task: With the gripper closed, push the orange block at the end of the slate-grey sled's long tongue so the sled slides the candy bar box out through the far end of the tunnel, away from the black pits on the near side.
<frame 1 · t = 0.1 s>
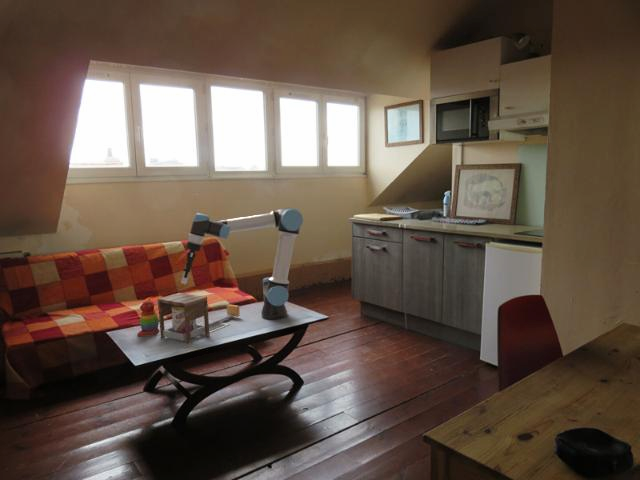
hand: (184, 281, 239), 28 cm above the table, tool tilted 20°, fingers open, 13 cm apart
stacking bear: (149, 333, 243), on the table
tunnel: (185, 336, 235), on the table
pit mat: (208, 327, 249), on the table
sled: (205, 320, 247), point 4 cm above the table, slide at 0.0 cm
candy bar box: (185, 336, 235), resting in sled
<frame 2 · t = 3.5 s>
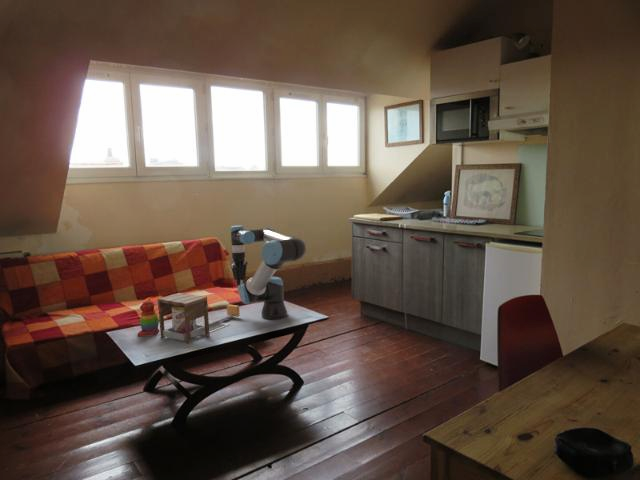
hand: (240, 290, 271), 14 cm above the table, tool pointing down, fingers closed
nothing on the table moved.
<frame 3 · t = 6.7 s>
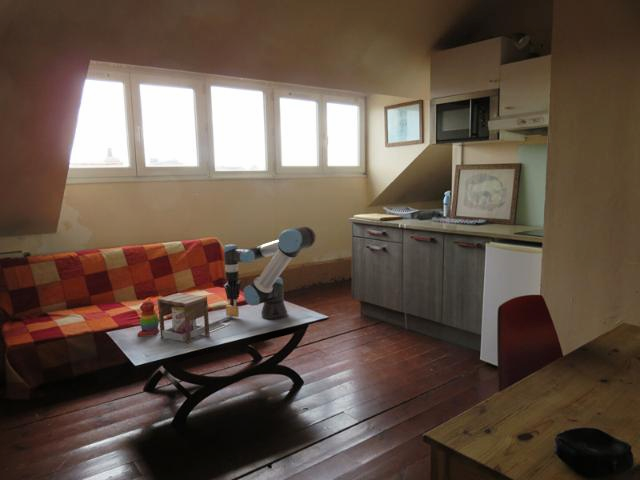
hand: (233, 310, 267), 4 cm above the table, tool pointing down, fingers closed
sled: (205, 320, 247), point 4 cm above the table, slide at 0.7 cm, touching gripper
everything else where it was.
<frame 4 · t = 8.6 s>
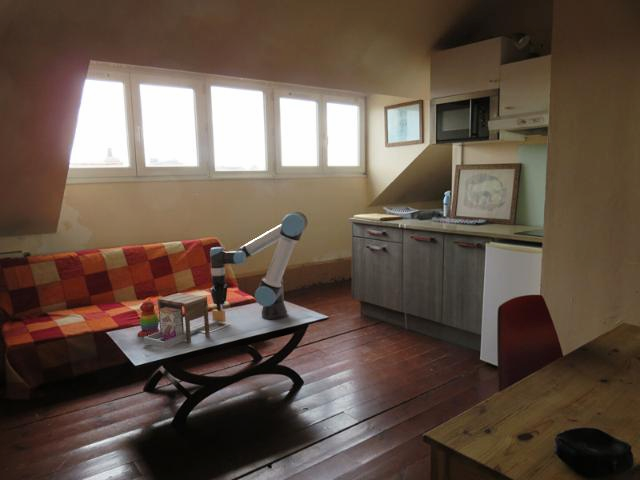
hand: (220, 315, 257), 4 cm above the table, tool pointing down, fingers closed
sled: (189, 326, 238), point 4 cm above the table, slide at 11.7 cm, touching candy bar box, gripper
candy bar box: (172, 340, 230), resting in sled
everything else where it was.
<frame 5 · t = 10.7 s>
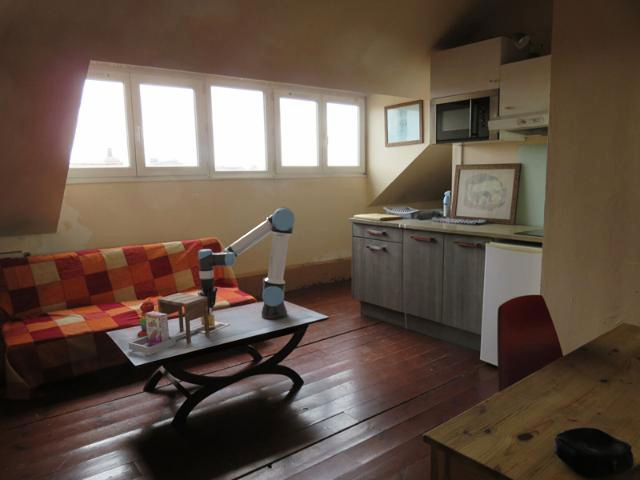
hand: (209, 319, 250), 4 cm above the table, tool pointing down, fingers closed
sled: (176, 331, 230), point 4 cm above the table, slide at 20.1 cm, touching gripper
candy bar box: (158, 346, 223), resting in sled
everything else where it was.
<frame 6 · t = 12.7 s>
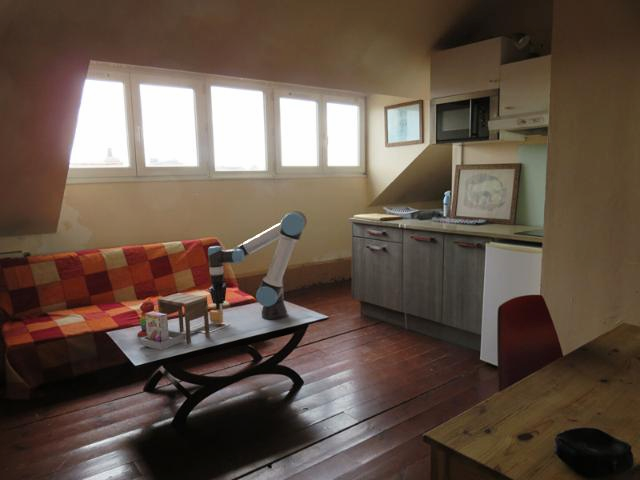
hand: (220, 314, 256), 5 cm above the table, tool pointing down, fingers closed
sled: (186, 327, 236), point 4 cm above the table, slide at 13.7 cm
everything else where it was.
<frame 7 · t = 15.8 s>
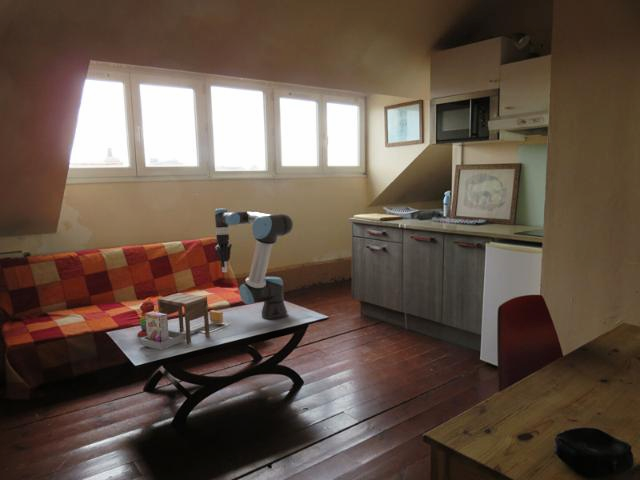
hand: (224, 271, 278), 24 cm above the table, tool pointing down, fingers closed
nothing on the table moved.
at the end: candy bar box inside the target area (2.3 cm from its centre), resting in sled; candy bar box tilted 0°; sled slide at 13.7 cm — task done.
